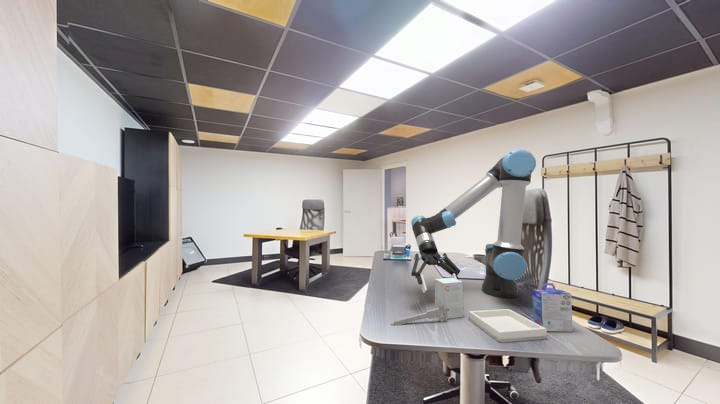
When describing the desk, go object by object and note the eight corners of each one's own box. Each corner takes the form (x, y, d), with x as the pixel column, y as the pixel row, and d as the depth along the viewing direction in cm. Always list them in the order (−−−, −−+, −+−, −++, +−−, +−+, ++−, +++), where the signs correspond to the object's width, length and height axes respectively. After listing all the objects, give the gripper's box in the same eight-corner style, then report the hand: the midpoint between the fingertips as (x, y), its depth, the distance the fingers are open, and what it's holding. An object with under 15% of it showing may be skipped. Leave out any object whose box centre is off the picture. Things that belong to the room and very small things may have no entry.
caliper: (446, 321, 91) (445, 303, 92) (447, 322, 90) (447, 304, 90) (390, 325, 88) (390, 306, 88) (391, 326, 87) (391, 307, 87)
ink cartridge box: (560, 324, 88) (560, 282, 89) (573, 332, 83) (573, 287, 83) (531, 324, 89) (531, 281, 89) (542, 331, 83) (542, 286, 83)
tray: (508, 317, 94) (508, 308, 94) (546, 338, 78) (546, 328, 79) (468, 319, 92) (468, 311, 92) (499, 342, 76) (499, 332, 76)
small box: (453, 310, 100) (452, 277, 100) (463, 317, 94) (463, 281, 94) (434, 312, 98) (434, 278, 98) (443, 319, 92) (443, 283, 92)
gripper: (450, 250, 118) (468, 294, 103) (397, 251, 114) (408, 296, 99) (456, 240, 113) (476, 285, 98) (401, 240, 109) (413, 287, 94)
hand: (442, 291), depth 98 cm, fingers open, 13 cm apart
